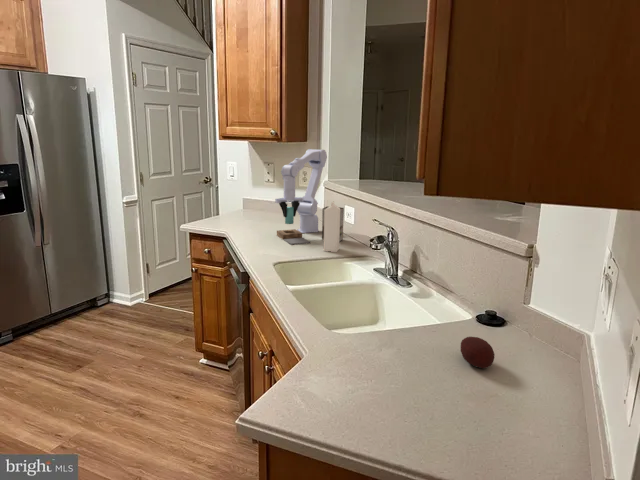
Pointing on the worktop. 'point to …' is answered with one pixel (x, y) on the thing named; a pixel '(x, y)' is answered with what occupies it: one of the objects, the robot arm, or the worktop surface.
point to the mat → (296, 241)
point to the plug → (289, 215)
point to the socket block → (289, 234)
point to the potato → (477, 352)
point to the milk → (331, 228)
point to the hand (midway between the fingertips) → (289, 216)
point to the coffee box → (340, 223)
